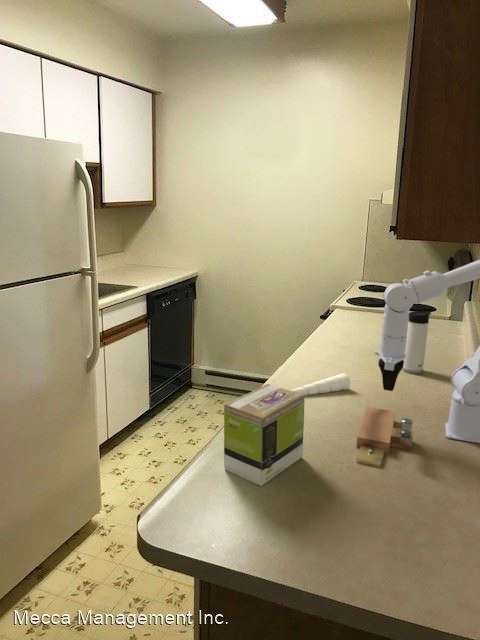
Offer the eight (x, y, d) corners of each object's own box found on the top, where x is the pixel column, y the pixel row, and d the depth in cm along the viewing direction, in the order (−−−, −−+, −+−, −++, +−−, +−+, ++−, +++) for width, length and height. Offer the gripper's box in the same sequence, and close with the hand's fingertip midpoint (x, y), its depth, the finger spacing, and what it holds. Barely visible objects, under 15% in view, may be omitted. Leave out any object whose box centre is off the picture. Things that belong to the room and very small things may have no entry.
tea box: (265, 443, 113) (268, 381, 109) (303, 458, 107) (307, 394, 103) (221, 469, 102) (223, 402, 98) (261, 488, 96) (264, 417, 92)
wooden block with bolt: (383, 456, 110) (384, 448, 109) (379, 469, 104) (380, 461, 104) (360, 451, 112) (361, 443, 111) (355, 463, 106) (356, 455, 106)
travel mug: (425, 375, 160) (432, 314, 155) (403, 373, 161) (410, 312, 156) (422, 368, 166) (429, 310, 161) (401, 366, 167) (407, 308, 162)
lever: (401, 423, 115) (402, 414, 114) (412, 425, 114) (413, 416, 113) (398, 442, 106) (400, 432, 105) (410, 444, 105) (412, 434, 104)
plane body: (413, 423, 125) (415, 407, 124) (410, 457, 108) (412, 439, 107) (366, 415, 129) (367, 400, 128) (356, 447, 112) (357, 429, 111)
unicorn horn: (269, 394, 141) (269, 378, 140) (342, 386, 149) (343, 371, 148) (275, 401, 137) (276, 384, 136) (350, 391, 145) (352, 376, 144)
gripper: (379, 326, 125) (374, 377, 128) (373, 340, 111) (367, 397, 115) (409, 329, 122) (403, 381, 126) (406, 344, 109) (399, 402, 112)
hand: (388, 389), depth 120 cm, fingers closed
